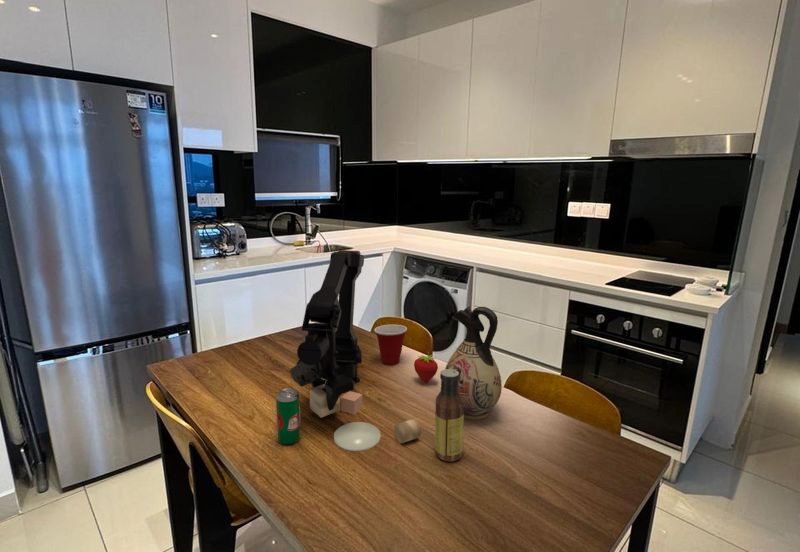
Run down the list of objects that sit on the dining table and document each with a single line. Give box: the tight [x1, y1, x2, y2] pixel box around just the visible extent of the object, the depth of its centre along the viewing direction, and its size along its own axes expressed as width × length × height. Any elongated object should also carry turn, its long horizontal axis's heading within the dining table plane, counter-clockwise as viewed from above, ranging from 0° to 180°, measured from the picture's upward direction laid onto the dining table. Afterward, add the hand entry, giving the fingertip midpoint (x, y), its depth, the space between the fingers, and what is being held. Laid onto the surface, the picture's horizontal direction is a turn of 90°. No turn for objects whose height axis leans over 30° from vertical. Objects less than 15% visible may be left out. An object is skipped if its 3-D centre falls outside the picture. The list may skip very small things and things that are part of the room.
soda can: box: [275, 387, 301, 446], centre depth 98 cm, size 5×5×12 cm
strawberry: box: [413, 350, 439, 384], centre depth 128 cm, size 6×8×10 cm
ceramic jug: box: [444, 306, 503, 420], centre depth 109 cm, size 17×15×30 cm
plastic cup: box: [374, 323, 408, 366], centre depth 141 cm, size 11×11×12 cm
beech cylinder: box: [394, 418, 421, 444], centre depth 100 cm, size 4×4×4 cm
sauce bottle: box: [434, 368, 465, 463], centre depth 93 cm, size 6×6×20 cm
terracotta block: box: [340, 391, 363, 416], centre depth 113 cm, size 4×4×4 cm
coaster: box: [333, 421, 381, 452], centre depth 101 cm, size 11×11×1 cm
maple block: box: [309, 384, 341, 418], centre depth 109 cm, size 6×6×6 cm
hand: (324, 404), depth 109 cm, fingers closed on maple block, 5 cm apart
